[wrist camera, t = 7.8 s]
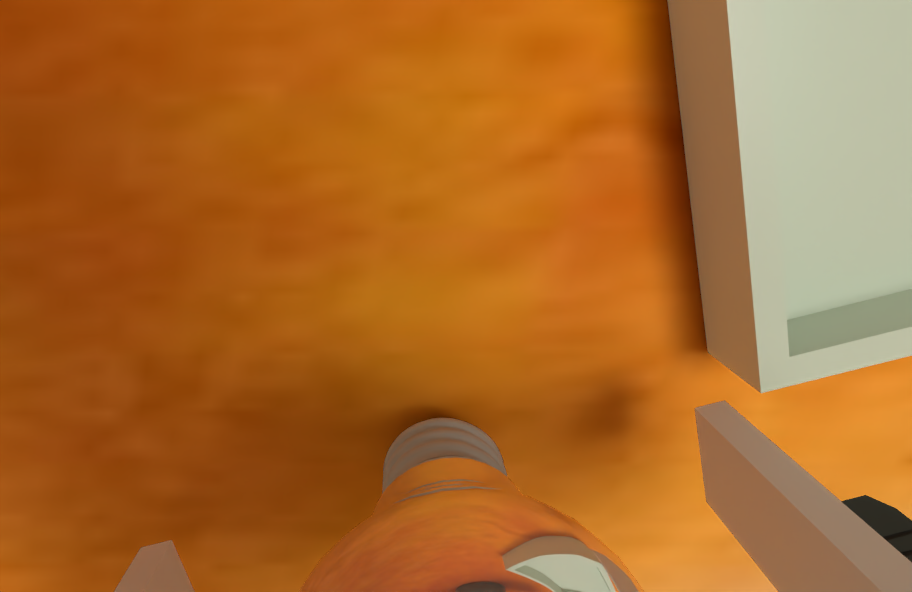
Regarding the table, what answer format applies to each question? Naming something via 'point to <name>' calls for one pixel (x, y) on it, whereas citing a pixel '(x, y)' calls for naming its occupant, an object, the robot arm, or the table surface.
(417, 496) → the light bulb
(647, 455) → the table surface
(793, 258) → the tray
